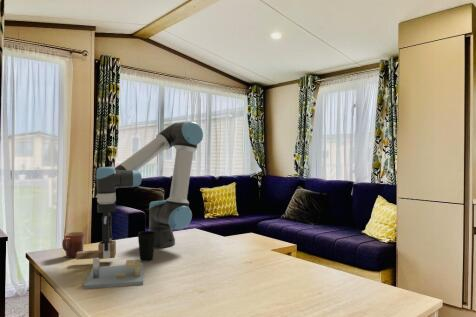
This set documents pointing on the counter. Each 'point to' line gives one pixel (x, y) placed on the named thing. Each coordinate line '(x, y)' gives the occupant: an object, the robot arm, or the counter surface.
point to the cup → (146, 245)
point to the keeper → (132, 264)
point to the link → (97, 252)
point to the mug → (73, 243)
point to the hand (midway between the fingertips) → (107, 255)
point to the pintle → (96, 267)
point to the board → (114, 277)
